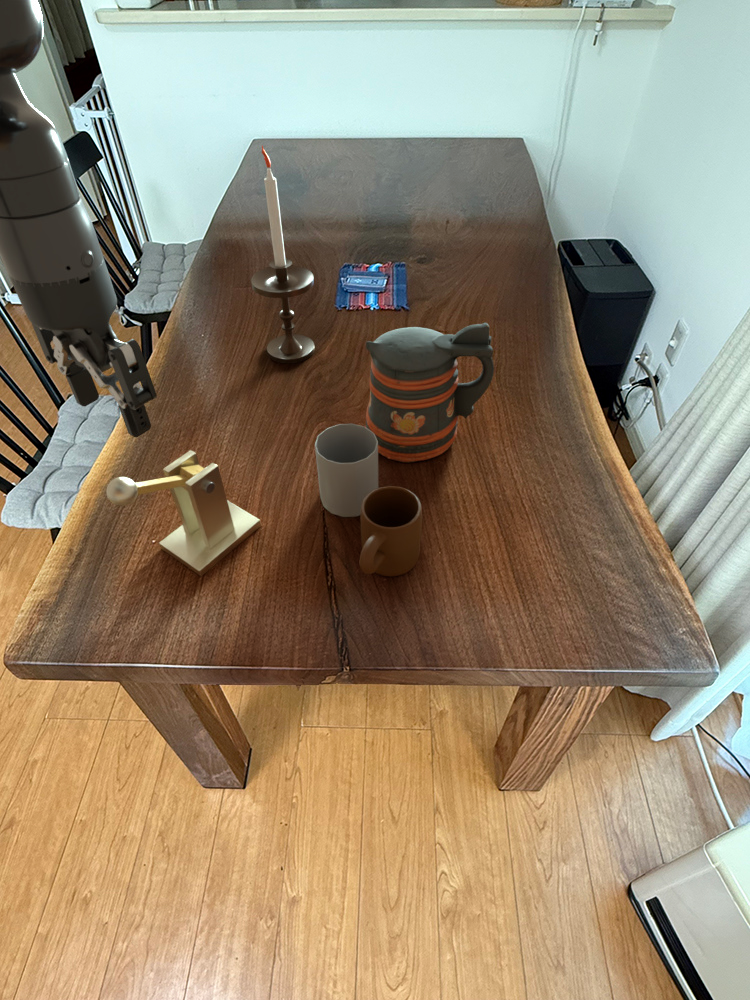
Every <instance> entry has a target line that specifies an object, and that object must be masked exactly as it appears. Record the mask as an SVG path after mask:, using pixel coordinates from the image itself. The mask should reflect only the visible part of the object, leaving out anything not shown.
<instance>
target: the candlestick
mask: <svg viewBox="0 0 750 1000" xmlns="http://www.w3.org/2000/svg"><path fill="white" fill-rule="evenodd" d="M261 154H262V156H263V159H264V162H265V165H266V168H267V169H266V177H264V178H263V180H264V188H265V196H266V205H267V212H268V219H269V225H270V226H269V228H270V235H271V245H272V251H273V258H274V259H273V260H271V261H269V263H268V266H267V267H264V268H262V269H260V270H257V271H256V272H255V273H253V275H252V276H251V279H250V283H251V288H252V290H253V292H255V293H256V294H258V295H259V296H262V297H266V298H271V299H280V302H281V309H282V310H281V311H279V312H278V317H279V319H280V320H281V321H282V322H283V323H282V324H281V329H282V330H283V331H284V333H285V334H283V335H280V336H277V337H275V338H273V339H271V340H270V341H269V342H268V344H267V347H266V352H267V355H268V357H269V359H271V360H273V361H274V362H276V363H279V364H296V363H297V364H298V363H301V362H304V361H306V360H308V359H309V358H311V357H312V356H313V355H314V353H315V350H316V349H315V343H314V341H313V339H311V338H310V337H308V336H305V335H302V334H294V333H293V330H294V329H296V326H295V323H293V322H292V320H293V319H294V317H295V311H293V310H292V309H290V300H289V299H290V298H293V297H297V296H301V295H303V294H305V293H307V292H309V291H310V290H311V289H312V288H313V287H314V282H315V281H314V274H313V273H312V271H311V270H309V269H307V268H306V267H304V266H300V265H296V264H295V265H294V264H293V262H292V260H291V259H288V258H286V252H285V244H284V236H283V226H282V217H281V216H282V215H281V208H280V201H279V199H280V198H279V192H278V191H279V190H278V183H277V178H276V177H275V176H274V175H273V172H272V169H271V165H272V162H271V160H270V157H269V155H268V154H267V152H266V150H265V149H264V145H261Z"/></svg>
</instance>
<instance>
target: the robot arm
mask: <svg viewBox="0 0 750 1000" xmlns="http://www.w3.org/2000/svg"><path fill="white" fill-rule="evenodd" d="M43 22H44V21H43V14H42V11H41V7H40V4H39V2H38V0H0V259H1V261H2V264H3V266H4V268H5V271H6V272H7V275H8V277H9V279H10V281H11V284H12V286H13V288H14V291H15V293H16V295H17V297H18V299H19V301H20V304H21V306H22V309H23V311H24V312H25V315H26V317H27V319H28V321H29V322H30V323H31V326H32V329H33V331H34V333H35V335H36V337H37V340H38V342H39V343H38V344H39V345H40V347H41V350H42V353H43V355H44V357H45V359H46V361H47V362H48V363H50V364H51V365H53V364H55V363H56V366H57V369H58V371H59V372H60V374H62V375H63V376H65V378H66V380H67V384H68V385H69V387H70V390H71V392H72V394H73V397H74V399H75V402H76V403H77V404H78V405H79V406H81V407H87V406H89V405H91V404H93V403H94V402H97V401H98V400H99V398H100V394H99V390H98V388H97V386H96V384H97V385H98V387H99V388H101V389H102V390H108V391H109V393H110V394H111V396H112V397H113V399H114V400H115V401H116V403H117V405H118V409H119V410H120V411H119V412H120V415H121V417H122V420H123V422H124V426H125V428H126V430H127V433H128V435H130V436H131V437H133V438H138V437H140V436H142V435H143V434H145V433H147V432H149V430H150V429H151V428H152V423H151V420H150V416H149V414H148V410H147V408H146V404H147V403H149V402H150V401H153V400H154V399H156V398H157V397H158V396H157V395H158V394H157V392H156V389H155V387H154V384H153V380H152V377H151V375H150V372H149V368H148V366H147V364H146V360H145V357H144V354H143V352H142V348H141V345H140V344H139V343H138V342H137V340H136V339H134V338H132V339H130V340H127V341H126V342H123V341H120V340H119V338H118V336H117V335H116V333H115V331H114V330H113V327H112V325H111V324H110V320H111V317H112V315H113V313H114V312H115V310H116V309H117V306H118V298H117V295H116V292H115V289H114V285H113V282H112V279H111V276H110V272H109V270H108V267H107V264H106V261H105V257H104V255H103V251H102V249H101V245H100V243H99V239H98V236H97V233H96V229H95V227H94V224H93V222H92V220H91V217H90V216H89V213H88V211H87V209H86V206H85V204H84V202H83V199H82V197H81V195H80V191H79V188H78V184H77V181H76V179H75V175H74V171H73V169H72V166H71V163H70V160H69V157H68V154H67V151H66V149H65V146H64V144H63V140H62V138H61V136H60V134H59V131H58V129H57V128H56V127H55V125H54V124H53V122H52V121H51V120H50V119H49V118H48V117H47V116H46V115H44V113H42V112H41V111H39V110H38V109H37V108H35V107H34V105H33V104H32V103H30V101H29V100H28V98H27V96H26V95H25V93H24V91H23V89H22V87H21V85H20V82H19V80H18V78H17V76H16V73H19V72H21V71H23V70H24V69H26V68H28V66H29V65H31V64H32V62H33V61H34V60H35V59H36V57H37V55H38V54H39V52H40V50H41V47H42V42H43V37H44V23H43ZM51 343H53V344H54V348H53V346H52V345H51ZM112 368H113V371H114V372H113V373H112V374H109V375H106V374H104V372H106V371H108V370H110V369H112ZM95 382H96V384H95ZM117 383H119V386H120V387H119V386H118V384H117ZM120 388H121V389H120Z"/></svg>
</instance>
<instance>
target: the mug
mask: <svg viewBox="0 0 750 1000" xmlns="http://www.w3.org/2000/svg"><path fill="white" fill-rule="evenodd" d="M422 510H423V507H422V502H421V500H420V499H419V497H418V496H417V495H416V494H415V493H414V492H412V491H411V490H409V489H407V488H405V487H401V486H396V485H386V486H381V487H378V488H377V489H375V490H373V491H371V492H370V493H369V494H368V495H367V496H366V497H365V498H364V500H363V502H362V505H361V515H359V516H360V540H361V541H360V543H361V551H360V555H359V569H360V570H361V572H362V573H364V574H365V575H371V574H374V573H376V574H377V575H380V576H384V577H397V576H401V575H405V574H407V573H409V571H411V570H412V569H413V568H414V567H415V566H416V565H417V563H418V560H419V557H420V551H421V540H422V539H421V538H422V525H423V511H422Z"/></svg>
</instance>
